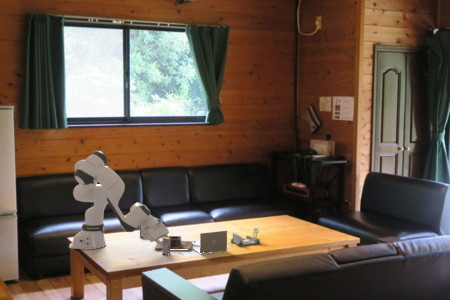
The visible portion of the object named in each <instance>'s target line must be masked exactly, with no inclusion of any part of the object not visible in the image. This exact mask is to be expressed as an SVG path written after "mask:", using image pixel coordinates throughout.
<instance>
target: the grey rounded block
mask: <svg viewBox="0 0 450 300" xmlns="http://www.w3.org/2000/svg"><path fill="white" fill-rule="evenodd" d="M139 238H142V239H143V238H145V239H148V238H147V237H146V235H145V232H144V228H143V227H142V226H141V225H140V226H139Z"/></svg>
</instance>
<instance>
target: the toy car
mask: <svg viewBox="0 0 450 300" xmlns="http://www.w3.org/2000/svg"><path fill="white" fill-rule="evenodd" d="M253 234H255V236H252V237H251V236H249V235H246V237H245V238H243V237H242V235H240V234H237V232H236V233H235V232H232V239H230V243H231V244H233V243H234V244H235V245H237V246H238V248H241V247H243V246H247V245H256V246H259V245H260V244H261V241H260V240H261V239H260V238H258V237H257V235H258V234H259V227H257V228H256V227H253Z"/></svg>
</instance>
